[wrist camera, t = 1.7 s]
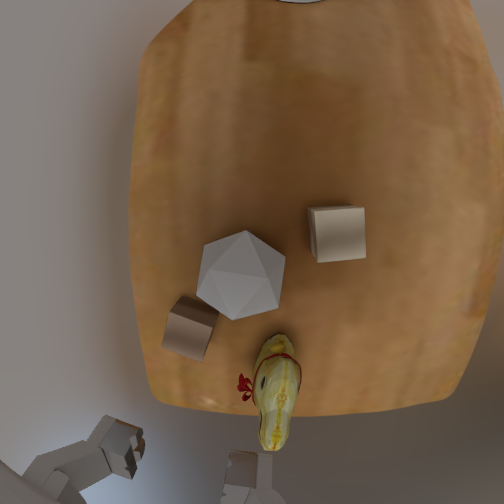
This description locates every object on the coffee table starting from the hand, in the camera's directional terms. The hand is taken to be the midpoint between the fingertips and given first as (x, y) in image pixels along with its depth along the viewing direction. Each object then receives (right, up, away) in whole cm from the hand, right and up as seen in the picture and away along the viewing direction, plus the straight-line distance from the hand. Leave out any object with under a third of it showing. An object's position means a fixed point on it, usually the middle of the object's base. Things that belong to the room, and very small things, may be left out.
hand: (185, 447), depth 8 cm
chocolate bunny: (+5, -7, +27) cm, 28 cm away
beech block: (+11, +10, +23) cm, 27 cm away
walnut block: (-5, -1, +27) cm, 27 cm away
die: (+2, +6, +25) cm, 25 cm away
